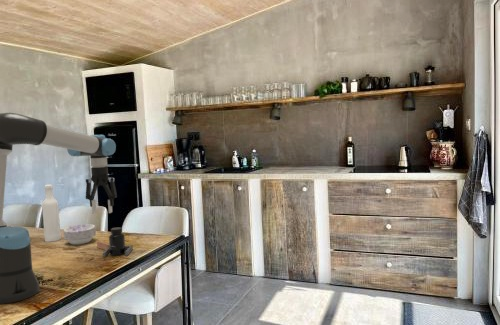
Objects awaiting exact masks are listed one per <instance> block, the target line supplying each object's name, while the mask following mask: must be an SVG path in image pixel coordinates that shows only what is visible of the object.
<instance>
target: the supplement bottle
mask: <svg viewBox="0 0 500 325" xmlns="http://www.w3.org/2000/svg"><path fill="white" fill-rule="evenodd" d="M125 238H126V237H125V234H124V233H123V228H122V227H118V226H117V227H112V228H110V234H109V237H108V241H109V246H110V252H109V254H110V256H112V257H113V256H114V257H117V256H121V255H125V251H126V250H125V246H126V241H125V240H126V239H125Z"/></svg>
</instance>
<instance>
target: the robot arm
mask: <svg viewBox="0 0 500 325" xmlns="http://www.w3.org/2000/svg"><path fill="white" fill-rule="evenodd" d="M14 145H31V146H40V145H46V146H53V147H57V148H61V149H65V150H67V153H68V155H69V156H71V157H89V158H90V166H91V168H90V170H91V172H90V173H91V178H86V179H85V183H86V184H85V185H86V188H85V199H86V200H89V204H90V207H91V209H92V214H93V215H95V214H97V201H96V199H95V196H96V192H97V190H98V187H99V186H100V187H101V186H102V187H103V189H104V191H105V193H106V194H107V196H108V199H107V205H108V206H107V207H108V209H107V210H108V214H112V213H113V206H115V203H114V199H115V198H116V199H117V197H118V194H117V188H116V182H115V180H116V179H115V177H110V176H109V169H108V156H112V155H114V153H116V150H117V148H116V147H117V144H116V142H115V141H114V140H113V139H111V138H107V137H106V135H104V134H85V133H81V132H77V131H74V130H69V129H65V128H62V127H59V126H54V125H50V124H47V122H45V120H42V119H37V118H34V117H32V116H27V115H23V114H19V113H16V112H15V113H14V112H1V113H0V304H10V303H11V304H12V303H17V302H19V301H24V300H26V299H28V298H31V297H33V296H35V295H37V294H38V293H39V292H40V289H41V288H40V282H39V280H38V279H37V277H36V274H35V272H34V270H33V262H32V261H33V259H32V248H31V247H32V246H31V236H30V233H29V230H28V229H27V228H26V227H23V226H15V225H14V226H10V225H9V226H8V224H7V223H6V222H5V221H4V219H3V216H4V214H3V213H4V203H5V191H6V190H5V187H6V176H7V175H6V173H7V164H8V162H7V160H8V155H10V154H11V153H12V152H13V146H14ZM92 182H93V186H92ZM108 182H109V183H110V186H109V184H108Z"/></svg>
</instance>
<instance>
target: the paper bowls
mask: <svg viewBox="0 0 500 325" xmlns="http://www.w3.org/2000/svg"><path fill="white" fill-rule="evenodd" d="M96 235H97V234H96V225H94V224H93V223H92V224H90V223H84V224H82V223H81V224H75V225H71V226H68V227H65V228H64V229H63V239H64V240H65V241H68V243H69V244H70V245H74V246H75V245H85V244H87V243H90V242H91V241H92V239H93V238H94V237H95V236H96Z"/></svg>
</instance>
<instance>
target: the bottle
mask: <svg viewBox="0 0 500 325" xmlns="http://www.w3.org/2000/svg"><path fill="white" fill-rule="evenodd" d="M53 190H54V186H53V184H45V185H44V193H45V198H44V200H42V203H41V208H42V220H43V222H42V223H43V233H44V234H43V235H44V241H45V242H46V243H47V242H48V243H52V242H57V241H61V239H62V234H61V224H60V212H59V210H60V209H59V202H58V200H57V199H56V198H55V197H54V191H53Z"/></svg>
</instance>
